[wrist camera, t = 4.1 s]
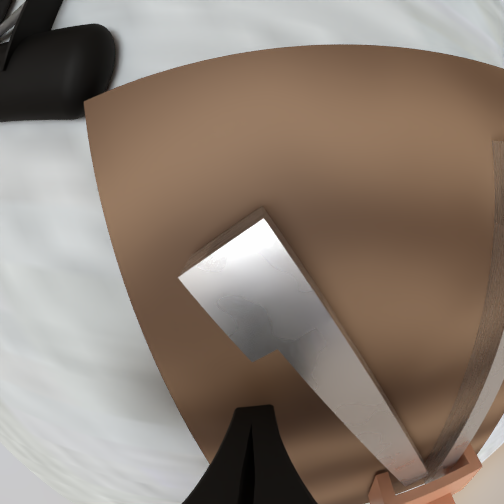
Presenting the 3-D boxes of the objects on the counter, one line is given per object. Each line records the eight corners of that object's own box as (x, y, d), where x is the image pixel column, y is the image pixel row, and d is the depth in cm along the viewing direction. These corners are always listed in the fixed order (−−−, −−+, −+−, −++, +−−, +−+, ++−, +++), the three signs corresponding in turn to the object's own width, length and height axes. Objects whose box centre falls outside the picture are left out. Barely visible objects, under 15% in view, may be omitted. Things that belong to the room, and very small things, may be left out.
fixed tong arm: (446, 459, 13) (453, 473, 12) (419, 470, 13) (425, 486, 12) (524, 143, 7) (552, 146, 5) (491, 140, 7) (521, 142, 5)
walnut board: (466, 449, 16) (472, 460, 14) (249, 506, 17) (248, 520, 16) (536, 90, 7) (555, 89, 5) (105, 106, 8) (83, 101, 7)
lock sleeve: (450, 464, 13) (470, 511, 8) (367, 495, 14) (380, 550, 9) (467, 438, 12) (494, 491, 7) (375, 475, 12) (393, 540, 8)
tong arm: (421, 456, 12) (428, 474, 11) (387, 473, 13) (393, 492, 11) (262, 205, 8) (263, 218, 6) (191, 254, 8) (177, 277, 7)
